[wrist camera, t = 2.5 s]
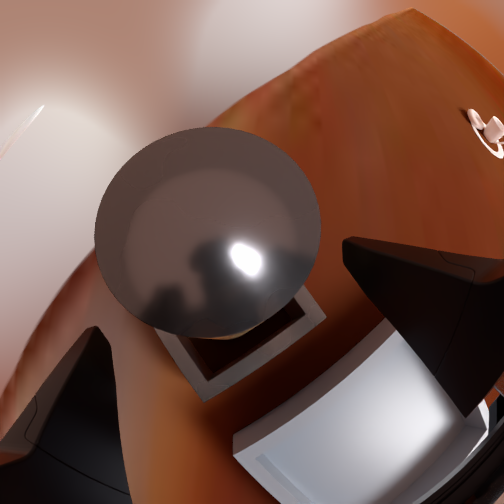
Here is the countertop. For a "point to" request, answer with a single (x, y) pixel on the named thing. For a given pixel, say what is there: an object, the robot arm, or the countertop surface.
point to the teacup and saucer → (488, 131)
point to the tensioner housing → (211, 384)
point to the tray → (362, 431)
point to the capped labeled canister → (207, 232)
